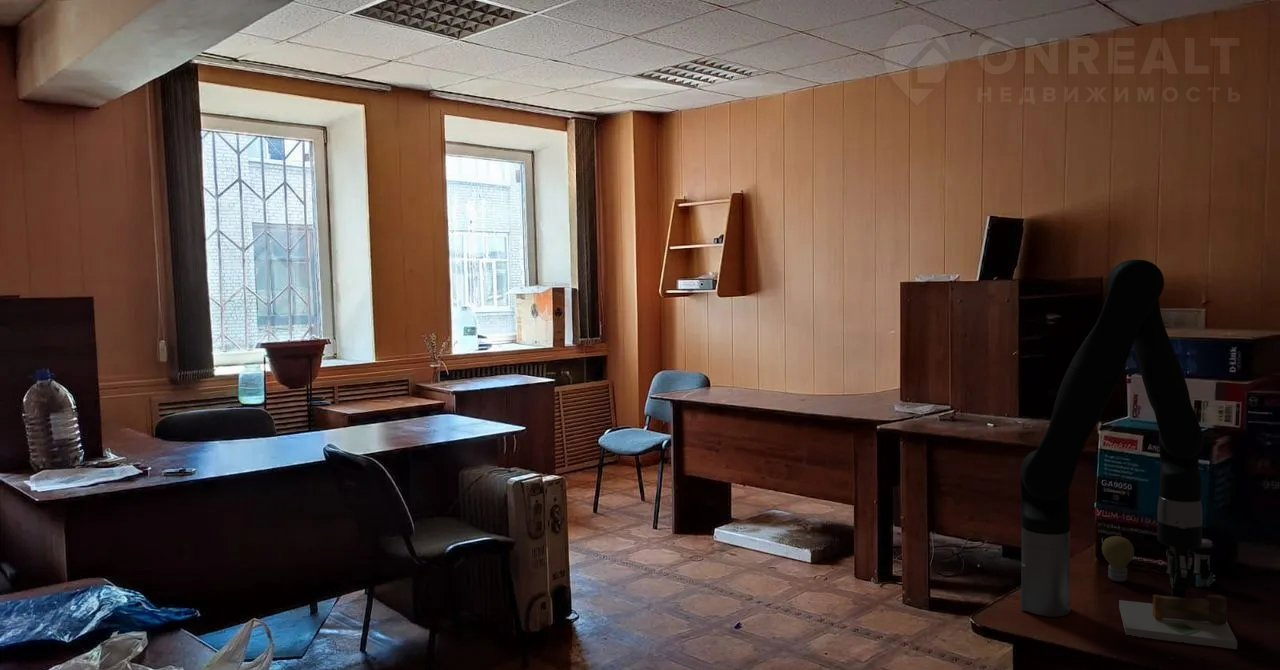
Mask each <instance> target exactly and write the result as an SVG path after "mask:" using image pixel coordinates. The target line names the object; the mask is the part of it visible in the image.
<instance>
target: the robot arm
mask: <svg viewBox="0 0 1280 670" xmlns="http://www.w3.org/2000/svg"><path fill="white" fill-rule="evenodd" d="M1106 285H1107V290H1108V292H1107V295H1106V297H1105V301H1104V304H1103V305H1102V309H1101V312H1100V314H1099V316H1098V318H1097V321H1096V323H1095V325H1093V328H1092V329H1090V330H1091V331H1089V333H1088V335H1087V336H1086V337H1085V339H1084V341H1083V342H1082V343H1081V344H1080V346H1079V348H1078V349H1077V351H1076V353H1075V355H1074V356H1073V358H1072V359H1071V362H1070V363H1069V366H1068V367H1067V370H1066V371H1065V374H1064V376H1063V379H1062V381H1061V382H1060V386H1059V388H1058V391H1057V394H1056V398H1055V402H1054V405H1053V410H1052V414H1051V418H1050V421H1049V425H1048V426H1047V427H1048V428H1047V430H1046V433H1045V434H1044V436H1043V438H1042V440H1041V441H1040V444H1039V445H1038V447H1037V449H1035V450H1033V451H1031V452H1029V453H1028V454H1027V455H1025V457H1024V459H1023V461H1022V463H1021V466H1020V516H1021V517H1020V518H1021V520H1020V521H1021V523H1020V525H1021V560H1020V561H1021V563H1020V564H1021V565H1020V574H1021V575H1020V580H1021V581H1020V582H1021V583H1020V586H1021V587H1020V589H1021V591H1020V594H1021V596H1020V599H1021V600H1020V607H1021V608H1020V610H1021V611H1023V612H1028V613H1030V614H1033V615H1037V616H1041V617H1052V618H1053V617H1054V618H1057V617H1064V616H1067V615H1068V614H1070V612H1071V513H1070V488H1071V486H1072V482H1073V479H1074V476H1075V474H1076V473H1075V472H1076V470H1077V466H1078V464H1079V461H1080V458H1081V456H1082V455H1081V454H1082V452H1083V450H1084V448H1085V445H1086V443H1087V441H1088V439H1089V437H1091V434H1092V433H1093V431H1094V430H1095V427H1096V426H1097V424H1098V423H1099V420H1100V419H1101V417H1102V414H1103V413H1104V412H1105V410H1106V408H1107V405H1108V404H1109V402H1110V400H1111V398H1112V396H1113V394H1114V391H1115V390H1116V387H1117V384H1119V380H1120V378H1121V376H1122V374H1123V371H1124V369H1125V367H1126V364H1127V362H1128V359H1129V355H1130V353H1131V350H1132V347H1133V349H1134V352H1135V355H1136V356H1135V357H1136V360H1137V364H1138V368H1139V372H1140V374H1141V375H1140V376H1141V379H1142V382H1143V385H1144V390H1145V393H1146V395H1147V399H1148V401H1149V404H1150V406H1151V408H1152V410H1153V412H1154V415H1155V420H1156V424H1157V428H1158V449H1159V461H1160V462H1159V463H1160V474H1159V491H1158V492H1159V493H1158V495H1159V496H1158V503H1157V525H1156V526H1157V528H1156V529H1157V530H1156V531H1157V533H1156V534H1157V536H1156V537H1157V538H1156V539H1157V541H1158V542H1159V543H1160V544H1162V545H1164V546H1166V547H1169V549H1166V551H1165V552H1166V554H1165V556H1166V558H1167V571H1168V577H1169V579H1170V580H1169V583H1170V585H1171V593H1170V594H1171V595H1170V596H1172V597H1186V596H1187V595H1186V591H1187V590H1189V589H1190V579H1191V574H1192V572H1193V571H1192V569H1191V568H1192V567H1191V566H1192V565H1193V556H1192V555H1191V552H1190V550H1189V549H1191V548H1198V547H1200V546H1201V545H1202V538H1203V504H1202V476H1201V472H1200V468H1199V463H1200V461H1199V460H1200V459H1199V458H1200V457H1199V456H1200V453H1201V451H1202V450H1203V448H1204V443H1205V439H1204V434H1203V430H1202V428H1201V425H1200V422H1199V419H1198V418H1197V415H1196V413H1195V410H1194V407H1193V405H1192V402H1191V401H1192V400H1191V398H1190V392H1189V389H1188V385H1187V382H1186V378H1185V374H1184V372H1183V369H1182V365H1181V363H1180V360H1179V357H1178V355H1177V353H1176V351H1175V348H1174V346H1173V344H1172V342H1171V339H1170V337H1169V334H1168V332H1167V329H1166V326H1165V324H1164V319H1163V316H1162V312H1161V307H1160V301H1159V300H1160V297H1161V295H1162V294H1163V291H1164V288H1165V278H1164V275H1163V273H1162V271H1161V269H1160V268H1159V266H1157V265H1156V264H1154V263H1153V262H1151V261H1148V260H1145V259H1128V260H1124V261H1122V262H1120V263H1118V264H1117V265H1116V266H1114V267H1113V268H1112V269H1111V271H1110V272H1109V275H1108V278H1107V284H1106Z"/></svg>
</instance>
